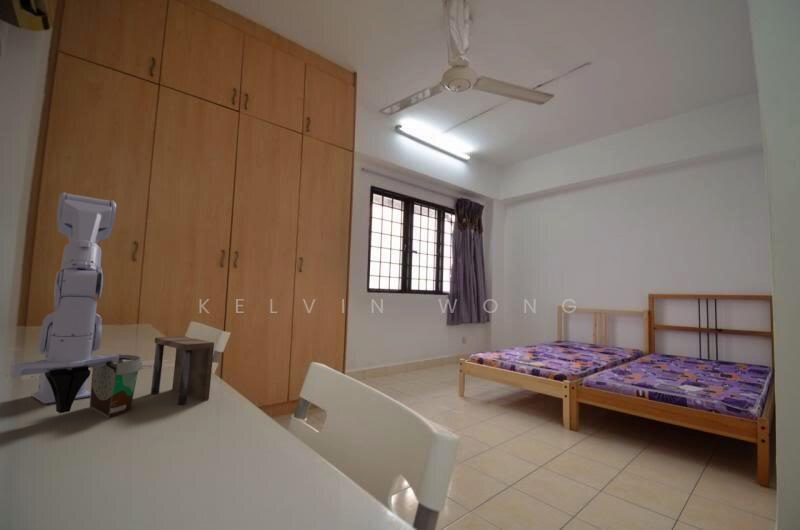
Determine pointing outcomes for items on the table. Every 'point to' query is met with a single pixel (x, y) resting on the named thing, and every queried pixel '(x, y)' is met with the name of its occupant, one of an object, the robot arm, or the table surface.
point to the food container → (114, 385)
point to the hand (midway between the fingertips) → (63, 411)
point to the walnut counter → (186, 366)
